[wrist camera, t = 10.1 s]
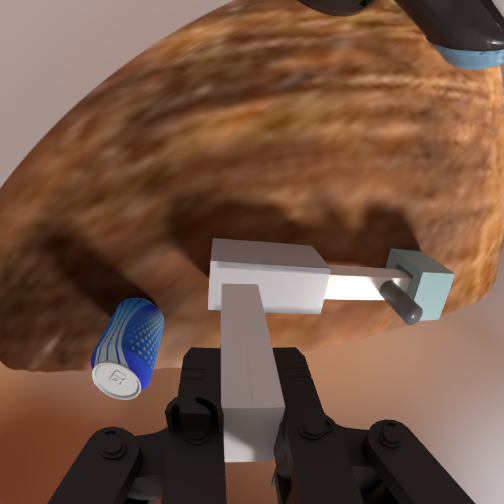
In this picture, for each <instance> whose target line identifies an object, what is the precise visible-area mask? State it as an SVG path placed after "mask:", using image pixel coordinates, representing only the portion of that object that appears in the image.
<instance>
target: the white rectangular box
mask: <svg viewBox="0 0 504 504" xmlns="http://www.w3.org/2000/svg"><path fill="white" fill-rule="evenodd" d="M330 270H331V268H330V267H329V266H328V265H327V263H326V262H325V261H324V260H323V258H322V257H321V256H320V255H319V253H318V252H317V251H316V250H315V249H314V247H313V246H310V245H297V244H285V243H272V242H259V241H246V240H233V239H219V238H213V243H212V253H211V264H210V281H209V299H208V309H210V310H221V294H222V283H224V284H258V286H259V291H260V295H261V300H262V304H263V309H264V312H266V313H297V314H321V310H322V306H323V301H324V297H325V293H326V288H327V284H328V279H329V275H330Z"/></svg>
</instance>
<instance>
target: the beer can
mask: <svg viewBox="0 0 504 504" xmlns="http://www.w3.org/2000/svg"><path fill="white" fill-rule="evenodd" d="M164 324H165V323H164V318H163V315H162V313H161V311H160V310H159V309H158V308H157V307H156V306H155V305H154V304H153V303H151V302H150V301H148V300H145V299H142V298H129V299H126V300H124V301H123V302H121V303H120V304H119V306H118V307H117V309H116V311H115V313H114V314H113V316H112V318H111V320H110V322H109V323H108V325H107V327H106V329H105V331H104V333H103V334H102V336H101V338H100V340H99V342H98V344H97V346H96V348H95V350H94V352H93V354H92V356H91V367H92V378H93V381H94V383H95V384H96V386H97V387H98V388H99V389H100V390H101V391H103V392H104V393H106V394H107V395H109V396H111V397H114V398H117V399H123V400H128V399H132V398H135V397H136V396H137V395H138V394H139V393H140V391H142V390H143V389H145V388H146V387H147V386H148V384H149V383H150V380H151V376H152V372H153V368H154V364H155V360H156V356H157V352H158V349H159V345H160V341H161V337H162V334H163V330H164Z"/></svg>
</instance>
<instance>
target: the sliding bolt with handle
mask: <svg viewBox="0 0 504 504" xmlns="http://www.w3.org/2000/svg"><path fill="white" fill-rule="evenodd" d="M328 266H329V267H330V268H331V270H330V275H329V279H328V284H327V288H326V293H325V297H324V299H347V300H385V301H386V302H387V303H388V304H389V305H390V306H391V307H392V308H393V309H394V310H395V312H396V313H397V314H398V315H399V316H400V317H401V318H402V319H403V320H404V322H405V323H406V324H407V325H413V324H415V323H417V322H418V321H419V320H420V318H421V317H422V314H423V310H422V308H421V307H420V306H419V305H418V304H417V303H416V302H415V301H414V300H413V299H412V298H411V297H410V296H409V295H408V292H409V289H410V286H411V283H412V279H413V275H412V274H410V273H409V272H408V271H407V270H402V269H385V268H369V267H353V266H337V265H328Z"/></svg>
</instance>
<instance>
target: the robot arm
mask: <svg viewBox="0 0 504 504" xmlns="http://www.w3.org/2000/svg"><path fill="white" fill-rule="evenodd" d="M299 1H300V2H301V3H303V4H304V5H306V6H308V7H310V8H312V9H314V10H316V11H318V12H321V13H324V14H328V15H333V16H352V15H356V14H359V13H361V12H362V11H364V10H365V9H367V8H368V7H369V6H370V5H371V4H372V3H373V2H374V1H375V0H299ZM394 1H395V2H396V3H397V4H398V5H399V6H400V7H401V8H402V10H403V11H404V12H405V13H406V14H407V15H408V16H409V17H410V18H411V19H412V21H413V22H414V23H415V24H416V25H417V26H418V28H419V29H420V30H421V31H422V32H423V33H424V35H425V36H426V39H427V41H428V42H429V43H430V44H432V45H433V46H434V47H435V48H436V49H437V51H438V52H439V53H440V54H441V55H442V57H443V58H444V59H445V60H446V61H447V62H448V63H450V64H452V65H454V66H455V67H458V68H462V69H470V70H474V69H485V68H490V67H494V66H498V65H501V64H503V61H504V0H394ZM180 378H181V379H180V384H179V391H178V397H176V398H174V399H173V400H172V401H171V402H170V403H169V404H168V405H167V408H166V410H165V415H166V419H167V424H168V427H166V428H165V429H163V430H161V431H159V432H156V433H152V434H147V435H140V436H133V434H132V433H130V432H128V431H126V430H125V429H123V428H118V427H107V428H103V429H101V430H99V431H96V432H95V433H94V434H93V435H92V436H91V437H90V438H89V440H88V442H87V443H86V444H85V446H84V448H83V449H82V451H81V452H80V454H79V455H78V457H77V458H76V460H75V461H74V463H73V464H72V466H71V467H70V469H69V471H68V472H67V474H66V475H65V477H64V478H63V480H62V482H61V483H60V485H59V486H58V488H57V489H56V491H55V493H54V494H53V496H52V497H51V499H50V501H49V502H48V504H154V502H155V499H157V498H162V501H161V504H227V503H226V482H225V462H256V461H272V459H273V455H274V456H275V462H276V468H275V471H274V475H273V478H272V483H271V486H275V485H276V491H277V498H278V504H475V503H474V502H473V500H472V499H471V498H470V497H469V496H468V495H467V494H466V493H465V491H464V490H463V489H462V488H461V487H460V486H459V485H458V484H457V483H456V481H455V480H454V479H453V478H452V477H451V476H450V475H449V473H448V472H447V471H446V470H445V469H444V468H443V467H442V466H441V465H440V463H439V462H438V461H437V460H436V459H435V458H434V457H433V455H432V454H431V453H430V452H429V451H428V450H427V449H426V448H425V446H424V445H423V444H422V443H421V442H420V441H419V440H418V439H417V437H416V436H415V435H414V434H413V433H412V432H411V431H410V430H409V429H408V428H407V427H406V426H405V425H403V424H402V423H400V422H397V421H395V420H382V421H378V422H376V423H375V424H373V425H372V426H371V428H370V429H369V430H362V429H352V428H346V427H342V426H339V425H337V424H335V422H334V421H333V420H332V419H331V418H330V417H328V416H327V415H325V413H324V411H323V409H322V406H321V403H320V400H319V397H318V394H317V391H316V388H315V385H314V382H313V380H312V378H311V374H310V371H309V369H308V365H307V362H306V359H305V356H304V355H303V354H302V353H301V352H300V351H299V350H298V349H297V348H296V347H287V348H272V345H271V341H270V336H269V332H268V327H267V322H266V318H265V313H264V309H263V304H262V300H261V295H260V291H259V286H258V284H224V283H222V294H221V348H195V347H191V348H190V350H189V351H188V352H187V353H186V354H185V356H184V357H183V364H182V371H181V377H180Z"/></svg>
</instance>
